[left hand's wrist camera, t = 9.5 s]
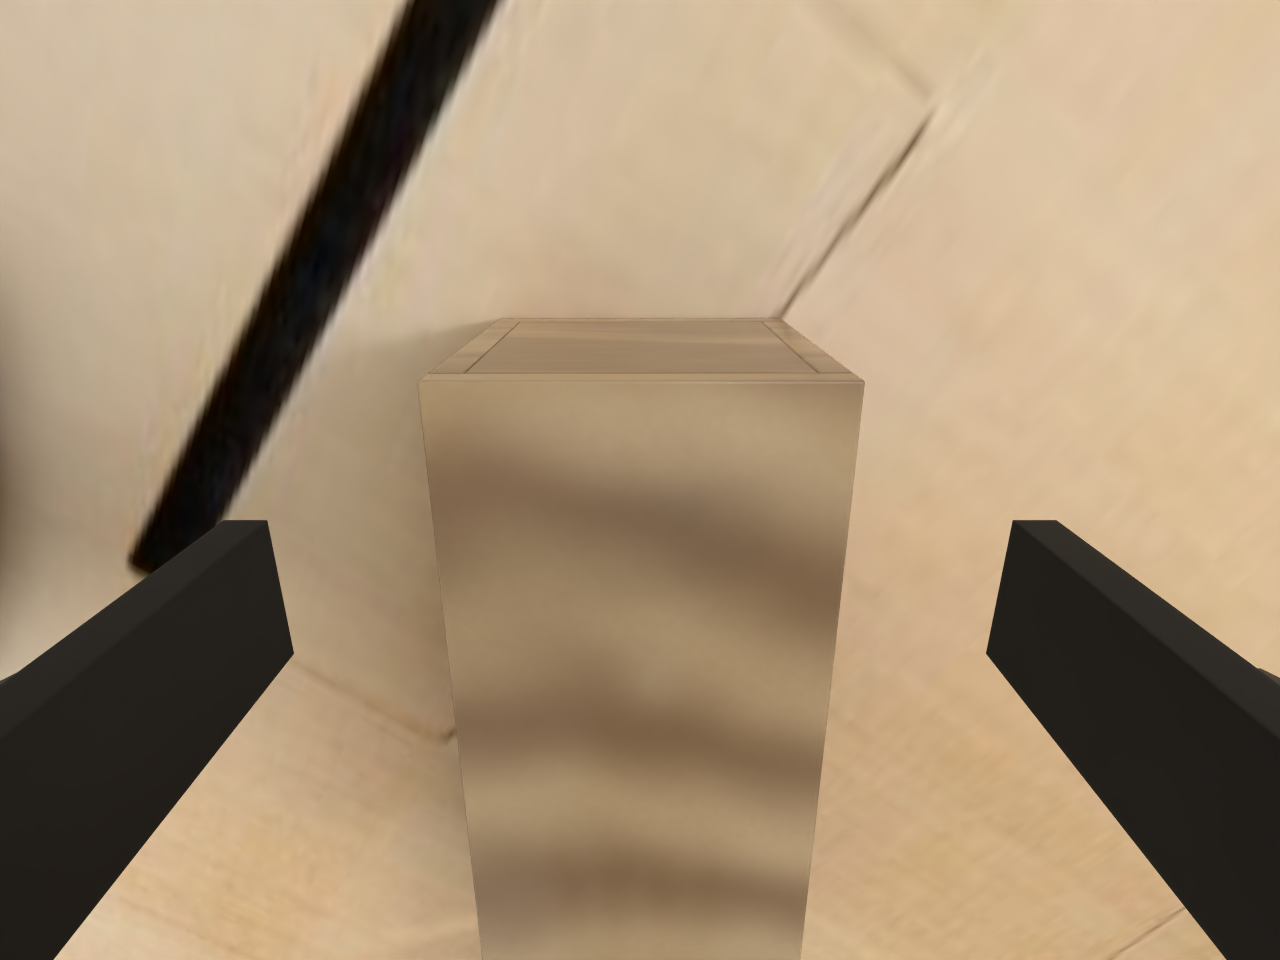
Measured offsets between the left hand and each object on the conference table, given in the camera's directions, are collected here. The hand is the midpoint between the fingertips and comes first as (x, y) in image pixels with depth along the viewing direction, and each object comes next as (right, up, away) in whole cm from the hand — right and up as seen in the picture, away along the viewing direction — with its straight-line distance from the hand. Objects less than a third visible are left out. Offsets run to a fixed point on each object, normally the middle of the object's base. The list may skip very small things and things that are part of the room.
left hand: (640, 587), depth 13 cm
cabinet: (0, -2, +17) cm, 17 cm away
